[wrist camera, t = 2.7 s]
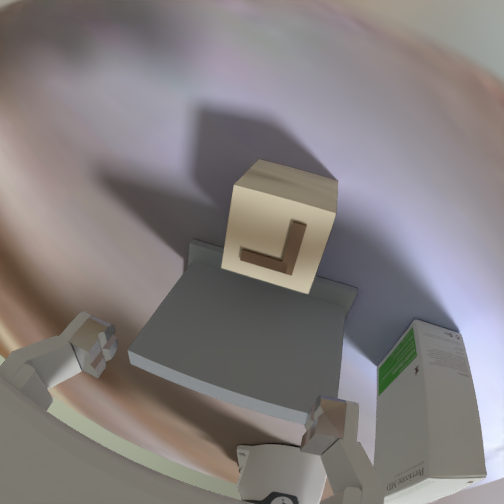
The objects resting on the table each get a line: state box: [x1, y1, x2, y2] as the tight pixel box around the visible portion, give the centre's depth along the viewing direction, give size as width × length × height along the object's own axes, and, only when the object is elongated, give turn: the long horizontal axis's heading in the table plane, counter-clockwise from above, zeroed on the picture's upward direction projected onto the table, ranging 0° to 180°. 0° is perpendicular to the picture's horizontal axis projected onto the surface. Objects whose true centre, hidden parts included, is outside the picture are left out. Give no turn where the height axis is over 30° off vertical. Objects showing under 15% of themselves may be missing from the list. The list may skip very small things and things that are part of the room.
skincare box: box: [374, 319, 487, 504], centre depth 22 cm, size 8×7×16 cm
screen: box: [128, 239, 358, 425], centre depth 24 cm, size 5×15×12 cm, turn 80°
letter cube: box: [221, 159, 338, 294], centre depth 22 cm, size 6×6×6 cm
